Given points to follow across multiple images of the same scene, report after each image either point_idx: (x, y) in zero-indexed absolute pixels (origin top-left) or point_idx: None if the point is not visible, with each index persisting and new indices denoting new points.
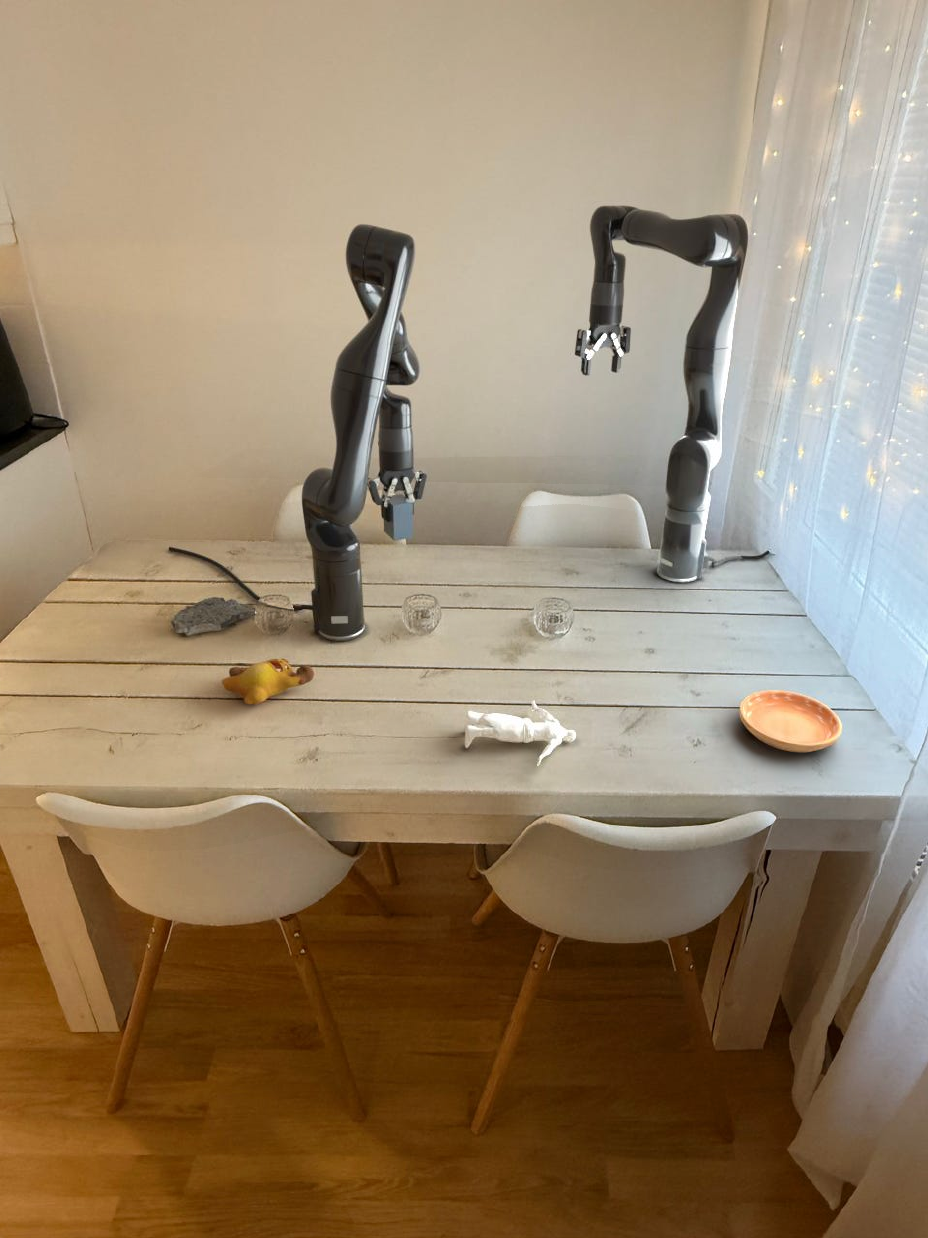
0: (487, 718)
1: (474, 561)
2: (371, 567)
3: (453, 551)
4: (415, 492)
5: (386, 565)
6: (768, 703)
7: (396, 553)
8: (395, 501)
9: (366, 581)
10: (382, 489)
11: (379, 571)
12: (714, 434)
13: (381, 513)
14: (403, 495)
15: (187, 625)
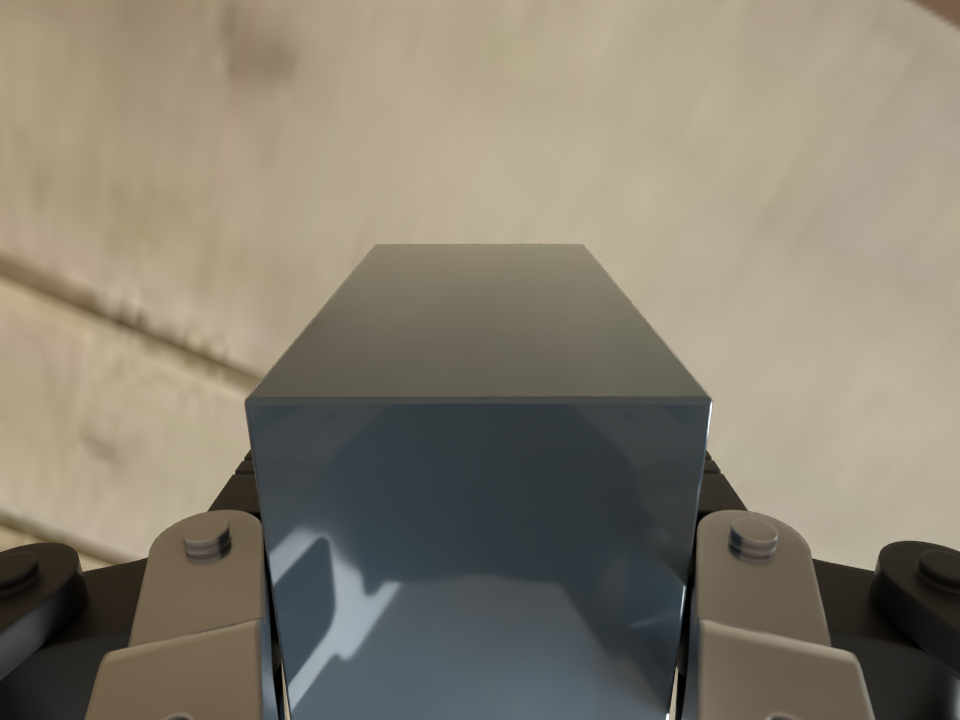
0: None
1: (947, 360)
2: (324, 168)
3: (945, 158)
4: (929, 678)
5: (428, 181)
6: None
7: (572, 3)
8: (405, 712)
9: (245, 347)
10: (93, 705)
11: (356, 250)
12: None
13: (242, 469)
14: (691, 502)
15: None
